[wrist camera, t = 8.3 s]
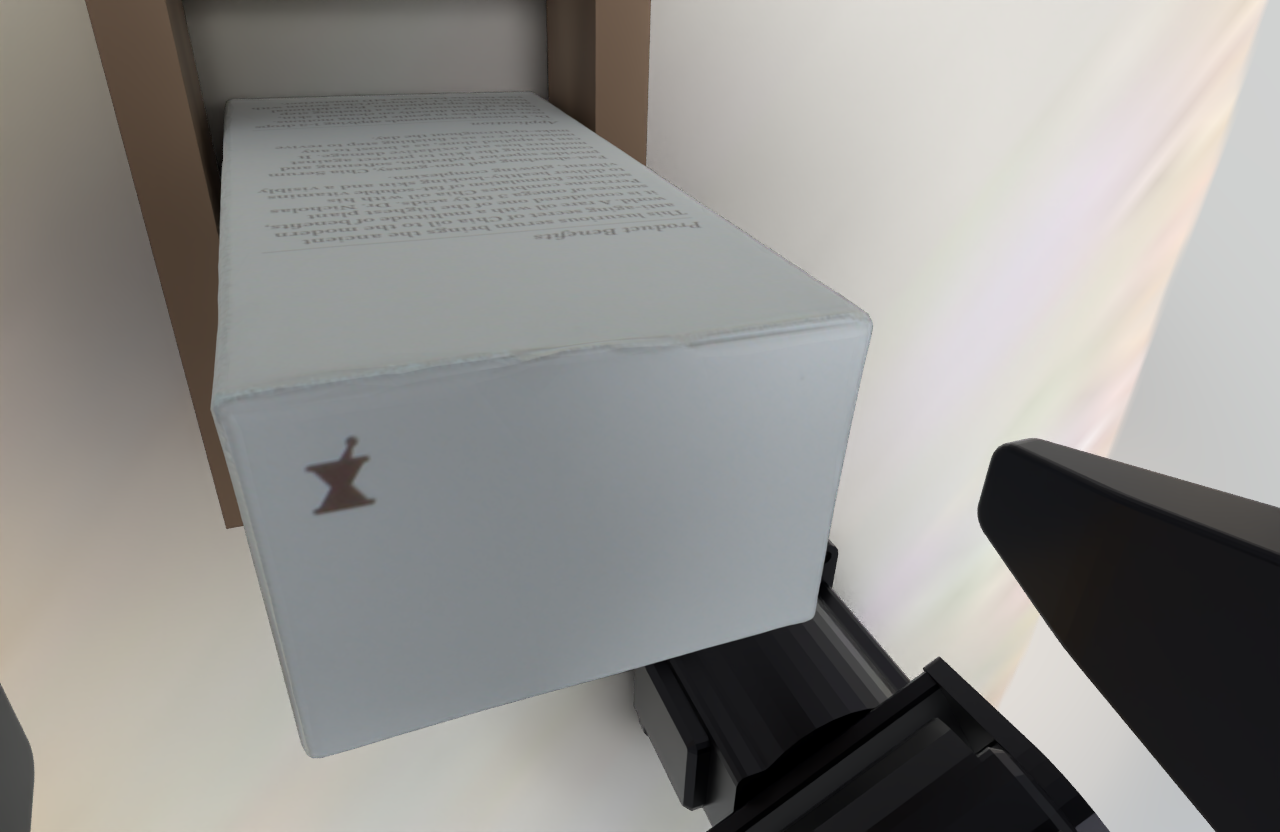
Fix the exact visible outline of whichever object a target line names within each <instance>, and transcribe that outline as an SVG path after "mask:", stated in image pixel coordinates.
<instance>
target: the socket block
mask: <svg viewBox="0 0 1280 832" xmlns="http://www.w3.org/2000/svg"><path fill="white" fill-rule="evenodd" d="M85 2H86V5H87V9H88V13H89V17H90V20H91V24H92V28H93V32H94V35H95V39H96V43H97V47H98V50H99V54H100V58H101V62H102V65H103V69H104V73H105V76H106V80H107V84H108V88H109V91H110V95H111V99H112V103H113V106H114V110H115V114H116V118H117V121H118V125H119V129H120V133H121V136H122V140H123V144H124V147H125V151H126V155H127V159H128V162H129V166H130V170H131V174H132V177H133V181H134V185H135V189H136V192H137V196H138V200H139V204H140V207H141V211H142V215H143V219H144V222H145V226H146V230H147V233H148V237H149V241H150V245H151V248H152V252H153V256H154V260H155V263H156V267H157V271H158V275H159V278H160V282H161V286H162V290H163V293H164V297H165V301H166V305H167V308H168V312H169V316H170V319H171V323H172V327H173V331H174V334H175V338H176V342H177V346H178V349H179V353H180V357H181V361H182V364H183V368H184V372H185V376H186V379H187V383H188V387H189V390H190V394H191V398H192V402H193V405H194V409H195V413H196V417H197V420H198V424H199V428H200V432H201V435H202V439H203V443H204V447H205V450H206V454H207V458H208V462H209V465H210V469H211V473H212V476H213V480H214V484H215V488H216V491H217V495H218V499H219V503H220V506H221V510H222V514H223V518H224V521H225V525H226V529H229V528H234V527H239V526H244V525H243V521H242V518H241V514H240V510H239V506H238V503H237V499H236V495H235V492H234V488H233V484H232V481H231V477H230V474H229V470H228V467H227V463H226V459H225V456H224V452H223V449H222V446H221V442H220V439H219V436H218V432H217V429H216V426H215V422H214V419H213V416H212V412H211V399H212V389H213V379H214V367H215V354H216V341H217V331H218V286H219V274H218V263H219V243H220V210H221V180H220V175H219V170H218V166H217V161H216V156H215V152H214V147H213V143H212V138H211V133H210V129H209V124H208V120H207V115H206V110H205V106H204V101H203V96H202V92H201V87H200V83H199V78H198V73H197V69H196V64H195V60H194V55H193V50H192V46H191V41H190V36H189V32H188V27H187V23H186V18H185V13H184V9H183V4H182V0H85ZM546 9H547V50H548V90H549V102H550V103H551V104H552V105H554V106H555V107H557V108H559V109H560V110H561V111H563V112H564V113H566V114H567V115H569V116H570V117H572V118H573V119H575V120H576V121H578V122H579V123H581V124H582V125H584V126H585V127H587V128H588V129H590V130H591V131H593V132H594V133H596V134H597V135H599V136H600V137H602V138H603V139H605V140H607V141H608V142H610V143H611V144H613V145H614V146H616V147H617V148H619V149H620V150H622V151H623V152H625V153H626V154H628V155H629V156H631V157H632V158H634V159H635V160H637V161H638V162H640V163H641V164H643V165H645V166H646V144H647V111H648V78H649V45H650V11H651V0H546Z"/></svg>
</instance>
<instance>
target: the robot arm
mask: <svg viewBox="0 0 1280 832" xmlns="http://www.w3.org/2000/svg"><path fill="white" fill-rule="evenodd" d="M978 520H979V523H980V526H981V528H982V530H983V532H984V534H985V535H986V536H987V538H988V539H989V541H990V542H991V544H992V545H993V547H994V548H995V550H996V551H997V552H998V554H999V555H1000V557H1001V558H1002V560H1003V561H1004V563H1005V564H1006V565H1007V567H1008V568H1009V570H1010V571H1011V573H1012V574H1013V576H1014V577H1015V579H1016V580H1017V581H1018V583H1019V584H1020V586H1021V587H1022V589H1023V590H1024V592H1025V593H1026V595H1027V596H1028V597H1029V599H1030V600H1031V602H1032V603H1033V605H1034V606H1035V608H1036V609H1037V611H1038V612H1039V613H1040V615H1041V616H1042V617H1043V619H1044V621H1045V622H1046V623H1047V625H1048V627H1049V628H1050V629H1051V631H1052V632H1053V633H1054V635H1055V636H1056V638H1057V639H1058V640H1059V642H1060V643H1061V644H1062V646H1063V647H1064V648H1065V650H1066V651H1067V652H1068V653H1069V655H1070V656H1071V657H1072V658H1073V660H1074V661H1075V662H1076V663H1077V665H1078V666H1079V667H1080V668H1081V669H1082V671H1083V672H1084V673H1085V675H1086V676H1087V677H1088V678H1089V679H1090V681H1091V682H1092V683H1093V684H1094V685H1095V686H1096V688H1097V689H1098V690H1099V691H1100V693H1101V694H1102V695H1103V696H1104V697H1105V699H1106V700H1107V701H1108V702H1109V703H1110V705H1111V706H1112V707H1113V708H1114V709H1115V711H1116V712H1117V713H1118V714H1119V716H1120V717H1121V718H1122V719H1123V720H1124V722H1125V723H1126V724H1127V725H1128V726H1129V728H1130V729H1131V730H1132V731H1133V732H1134V734H1135V735H1136V736H1137V737H1138V739H1140V741H1141V742H1142V743H1143V745H1144V746H1145V747H1146V748H1147V749H1148V751H1149V752H1150V753H1151V754H1152V755H1153V757H1154V758H1155V759H1156V760H1157V761H1158V763H1159V764H1160V765H1161V766H1162V767H1163V769H1164V770H1165V771H1166V772H1167V774H1169V776H1170V777H1171V778H1172V780H1173V781H1174V782H1175V783H1176V784H1177V785H1178V787H1179V788H1180V789H1181V790H1182V792H1183V793H1184V794H1185V795H1186V796H1187V798H1188V799H1189V800H1190V801H1191V802H1192V804H1193V805H1194V806H1195V807H1196V809H1197V810H1198V811H1199V812H1200V813H1201V815H1202V816H1203V817H1204V818H1205V819H1206V821H1207V822H1208V823H1209V824H1210V825H1211V827H1212V828H1213V829H1214V830H1215V832H1280V508H1278V507H1275V506H1271V505H1268V504H1264V503H1261V502H1258V501H1254V500H1251V499H1247V498H1243V497H1240V496H1236V495H1233V494H1230V493H1226V492H1223V491H1219V490H1216V489H1212V488H1209V487H1205V486H1202V485H1198V484H1195V483H1191V482H1188V481H1184V480H1181V479H1178V478H1174V477H1171V476H1167V475H1164V474H1160V473H1157V472H1153V471H1150V470H1146V469H1143V468H1139V467H1136V466H1132V465H1129V464H1125V463H1122V462H1118V461H1115V460H1111V459H1108V458H1105V457H1101V456H1098V455H1094V454H1091V453H1087V452H1084V451H1080V450H1077V449H1073V448H1070V447H1066V446H1063V445H1059V444H1056V443H1052V442H1049V441H1045V440H1042V439H1037V438H1029V439H1023V440H1019V441H1014V442H1010V443H1005V444H1003V445H1001V446H999V447H998V448H997V449H996V450H995V452H994V453H993V455H992V458H991V461H990V464H989V468H988V472H987V475H986V479H985V482H984V486H983V489H982V493H981V496H980V500H979V504H978ZM837 558H838V549H837V548H836V546H835V545H834V544H833V543H832V542H831V541H830V540H829V539H828V544H827V550H826V555H825V561H824V566H823V571H822V577H821V582H820V587H819V592H818V598H817V605H816V611H815V615H814V617H813V618H812V619H810V620H808V621H806V622H803V623H798V624H793V625H789V626H785V627H781V628H777V629H774V630H770V631H767V632H764V633H760V634H757V635H753V636H750V637H746V638H742V639H739V640H735V641H731V642H727V643H724V644H720V645H716V646H712V647H709V648H705V649H702V650H698V651H695V652H691V653H688V654H684V655H681V656H677V657H674V658H670V659H667V660H663V661H660V662H656V663H653V664H649V665H646V666H642V667H639V668H635V674H634V707H635V709H636V711H637V713H638V715H639V722H640V725H641V727H642V729H643V731H644V733H645V734H646V735H647V736H649V738H650V740H651V742H652V744H653V746H654V749H655V751H656V753H657V755H658V757H659V759H660V761H661V763H662V765H663V767H664V769H665V771H666V773H667V775H668V777H669V780H670V782H671V784H672V786H673V788H674V790H675V792H676V794H677V796H678V798H679V800H680V802H681V804H682V806H684V807H686V808H687V809H689V810H691V811H693V810H695V809H698V808H701V807H703V809H704V811H705V813H706V815H707V817H708V819H709V821H710V823H711V825H712V828H711V829H709V830H708V831H707V832H1110V831H1109V830H1108V829H1107V827H1106V826H1105V825H1104V824H1103V822H1102V821H1101V820H1100V818H1099V817H1098V816H1097V814H1096V813H1095V812H1094V811H1093V810H1092V808H1091V807H1090V806H1089V805H1088V804H1087V802H1086V801H1085V800H1084V799H1083V797H1082V796H1081V795H1080V794H1079V793H1078V792H1077V791H1076V789H1075V788H1074V787H1073V786H1072V785H1071V783H1070V782H1069V781H1068V780H1067V779H1066V778H1065V777H1064V776H1063V774H1062V773H1061V772H1060V771H1059V770H1058V769H1057V768H1056V767H1055V766H1054V765H1053V764H1052V763H1051V762H1050V760H1049V759H1048V758H1047V757H1046V756H1045V755H1044V754H1043V753H1042V752H1041V751H1040V750H1039V749H1038V748H1037V747H1035V745H1033V744H1032V743H1031V742H1030V741H1029V740H1028V739H1027V738H1026V737H1025V736H1024V735H1023V734H1022V733H1020V731H1018V730H1017V729H1016V728H1015V727H1014V726H1013V725H1012V724H1011V723H1010V722H1009V721H1008V720H1007V719H1006V718H1005V717H1004V716H1003V715H1001V714H1000V713H999V712H998V711H997V710H996V709H995V708H994V707H993V706H992V705H991V704H990V703H989V702H988V701H987V700H985V699H984V698H983V697H982V696H981V695H980V694H979V693H978V692H977V691H976V690H975V689H974V688H973V687H972V686H971V685H969V684H968V683H967V682H966V681H965V680H964V679H963V678H962V677H961V676H960V675H959V674H958V673H957V672H956V671H954V670H953V669H952V668H951V667H950V666H949V665H948V664H947V663H946V662H945V661H944V660H943V659H942V658H941V657H937V658H936V659H935V660H933V661H932V662H930V663H929V664H928V665H926V666H925V667H924V668H923V670H924V672H923V673H922V674H920V675H919V676H917V677H916V678H915V679H913V680H912V681H910V679H909V678H908V677H907V676H906V675H905V674H904V672H903V671H902V670H901V669H900V668H899V666H898V665H897V664H896V663H895V662H894V661H893V659H892V658H891V657H890V656H889V655H888V654H887V652H886V651H885V650H884V649H883V648H882V647H881V645H880V644H879V643H878V642H877V641H876V640H875V638H874V637H873V636H872V635H871V634H870V633H869V631H868V630H867V629H866V628H865V627H864V626H863V624H862V623H861V622H860V621H859V620H858V619H857V617H856V616H855V615H854V614H853V613H852V612H851V610H850V609H849V608H848V607H847V606H846V605H845V603H844V602H843V601H842V600H841V599H840V598H839V596H838V595H837V594H836V593H835V592H834V591H833V589H832V585H833V580H834V574H835V569H836V563H837ZM33 789H34V760H33V753H32V750H31V746H30V743H29V741H28V739H27V737H26V735H25V733H24V731H23V729H22V727H21V725H20V722H19V720H18V718H17V716H16V714H15V712H14V710H13V708H12V706H11V704H10V702H9V700H8V698H7V696H6V694H5V692H4V690H3V688H2V686H1V684H0V832H30V831H31V817H32V803H33Z"/></svg>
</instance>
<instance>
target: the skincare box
mask: <svg viewBox="0 0 1280 832" xmlns="http://www.w3.org/2000/svg"><path fill="white" fill-rule="evenodd" d="M218 274H219V286H218V331H217V341H216V354H215V367H214V379H213V389H212V399H211V412H212V416H213V419H214V422H215V426H216V429H217V432H218V436H219V439H220V442H221V446H222V449H223V452H224V456H225V459H226V463H227V467H228V470H229V474H230V477H231V481H232V484H233V488H234V492H235V495H236V499H237V503H238V506H239V510H240V514H241V518H242V521H243V525H244V529H245V533H246V536H247V540H248V544H249V548H250V551H251V555H252V559H253V563H254V566H255V570H256V574H257V578H258V581H259V585H260V589H261V593H262V596H263V600H264V604H265V608H266V611H267V615H268V619H269V623H270V626H271V630H272V634H273V638H274V641H275V645H276V649H277V653H278V657H279V661H280V664H281V668H282V672H283V676H284V680H285V684H286V687H287V691H288V695H289V699H290V703H291V707H292V710H293V714H294V718H295V722H296V726H297V730H298V733H299V737H300V740H301V744H302V746H303V748H304V750H305V752H306V754H307V755H308V756H310V757H312V758H323V757H326V756H330V755H334V754H337V753H341V752H344V751H348V750H351V749H355V748H358V747H361V746H365V745H368V744H371V743H375V742H378V741H381V740H384V739H388V738H391V737H394V736H398V735H401V734H404V733H408V732H411V731H414V730H418V729H421V728H425V727H428V726H432V725H435V724H438V723H442V722H445V721H449V720H452V719H456V718H459V717H462V716H466V715H469V714H473V713H476V712H480V711H483V710H487V709H490V708H494V707H498V706H501V705H505V704H508V703H512V702H515V701H519V700H523V699H526V698H530V697H533V696H537V695H541V694H544V693H548V692H552V691H555V690H559V689H563V688H566V687H570V686H574V685H577V684H581V683H585V682H588V681H592V680H596V679H599V678H603V677H607V676H610V675H614V674H618V673H621V672H625V671H628V670H632V669H635V668H639V667H642V666H646V665H649V664H653V663H656V662H660V661H663V660H667V659H670V658H674V657H677V656H681V655H684V654H688V653H691V652H695V651H698V650H702V649H705V648H709V647H712V646H716V645H720V644H724V643H727V642H731V641H735V640H739V639H742V638H746V637H750V636H753V635H757V634H760V633H764V632H767V631H770V630H774V629H777V628H781V627H785V626H789V625H793V624H798V623H803V622H806V621H808V620H810V619H812V618H813V617H814V615H815V611H816V605H817V598H818V592H819V587H820V582H821V577H822V571H823V566H824V561H825V555H826V550H827V544H828V538H829V533H830V527H831V522H832V517H833V511H834V506H835V501H836V496H837V491H838V486H839V481H840V476H841V472H842V467H843V462H844V457H845V452H846V447H847V443H848V438H849V433H850V428H851V423H852V419H853V414H854V409H855V405H856V400H857V395H858V391H859V386H860V381H861V377H862V372H863V368H864V364H865V360H866V355H867V351H868V347H869V343H870V339H871V335H872V329H873V323H872V320H871V318H870V316H869V314H868V313H866V312H865V311H864V310H862V309H861V308H859V307H858V306H856V305H855V304H853V303H852V302H850V301H849V300H848V299H846V298H845V297H843V296H842V295H840V294H839V293H837V292H836V291H834V290H832V289H831V288H829V287H828V286H826V285H824V284H823V283H821V282H820V281H818V280H816V279H815V278H813V277H812V276H811V275H809V274H808V273H806V272H805V271H804V270H802V269H801V268H799V267H797V266H796V265H794V264H792V263H791V262H789V261H788V260H786V259H785V258H783V257H782V256H781V255H779V254H778V253H776V252H775V251H773V250H771V249H770V248H768V247H767V246H765V245H764V244H762V243H761V242H759V241H757V240H756V239H754V238H753V237H751V236H750V235H748V234H747V233H746V232H744V231H743V230H741V229H740V228H738V227H737V226H735V225H734V224H732V223H731V222H729V221H727V220H726V219H724V218H723V217H721V216H720V215H718V214H717V213H715V212H714V211H712V210H711V209H709V208H707V207H706V206H704V205H703V204H701V203H700V202H698V201H697V200H695V199H694V198H692V197H691V196H689V195H688V194H686V193H685V192H683V191H682V190H681V189H679V188H678V187H676V186H675V185H673V184H672V183H670V182H669V181H667V180H666V179H664V178H662V177H661V176H659V175H658V174H656V173H655V172H654V171H652V170H651V169H649V168H648V167H646V166H645V165H643V164H641V163H640V162H638V161H637V160H635V159H634V158H632V157H631V156H629V155H628V154H626V153H625V152H623V151H622V150H620V149H619V148H617V147H616V146H614V145H613V144H611V143H610V142H608V141H607V140H605V139H603V138H602V137H600V136H599V135H597V134H596V133H594V132H593V131H591V130H590V129H588V128H587V127H585V126H584V125H582V124H581V123H579V122H578V121H576V120H575V119H573V118H572V117H570V116H569V115H567V114H566V113H564V112H563V111H561V110H560V109H559V108H557V107H555V106H554V105H552V104H551V103H550V102H548V101H547V100H545V99H544V98H542V97H540V96H539V95H537V94H535V93H533V92H529V91H526V92H484V93H445V94H402V95H369V96H332V97H300V98H267V99H231V100H228V101H227V102H226V106H225V112H224V139H223V163H222V178H221V210H220V243H219V263H218Z"/></svg>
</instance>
